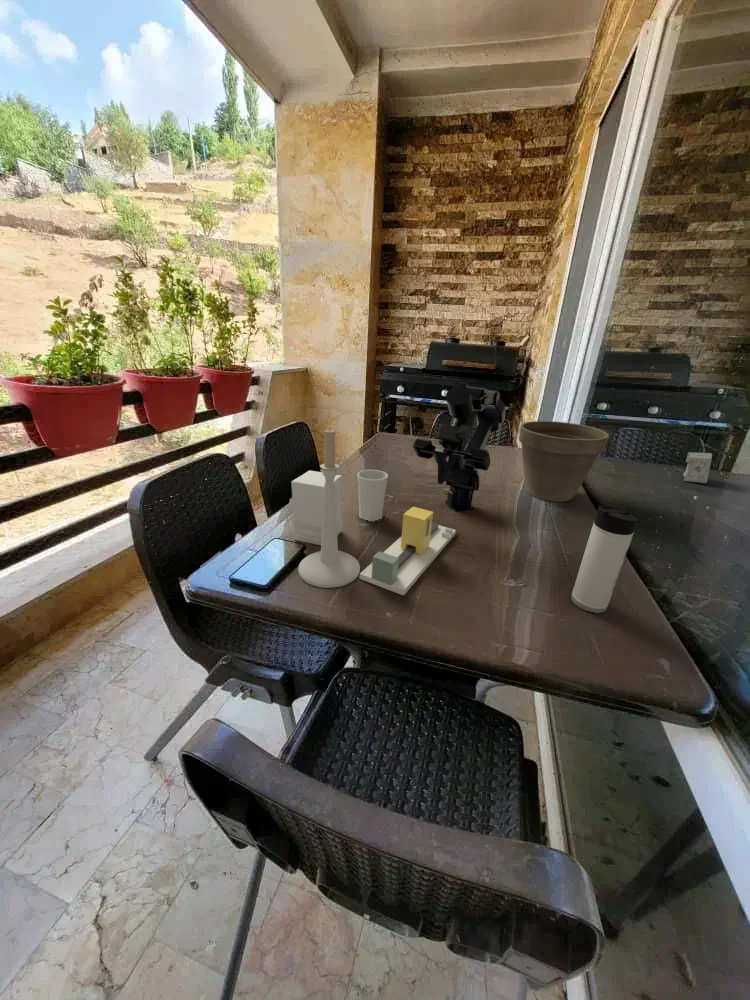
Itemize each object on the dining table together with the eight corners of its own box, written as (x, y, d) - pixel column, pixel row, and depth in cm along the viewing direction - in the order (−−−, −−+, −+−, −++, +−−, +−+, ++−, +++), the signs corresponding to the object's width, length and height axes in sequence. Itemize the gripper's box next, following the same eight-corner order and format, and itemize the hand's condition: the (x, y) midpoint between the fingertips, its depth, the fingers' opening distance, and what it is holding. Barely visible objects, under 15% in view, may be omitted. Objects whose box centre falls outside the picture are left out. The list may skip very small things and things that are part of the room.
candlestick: (335, 595, 74) (336, 441, 62) (285, 573, 80) (277, 428, 68) (371, 565, 84) (378, 428, 72) (324, 547, 90) (324, 417, 78)
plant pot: (505, 499, 122) (518, 431, 113) (511, 475, 143) (522, 416, 134) (593, 515, 114) (615, 443, 105) (585, 488, 135) (603, 426, 126)
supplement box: (342, 531, 97) (344, 474, 91) (327, 547, 90) (327, 487, 84) (310, 524, 100) (309, 469, 94) (292, 539, 92) (290, 480, 86)
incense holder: (679, 474, 155) (689, 449, 151) (705, 479, 150) (716, 454, 146) (677, 480, 148) (688, 454, 143) (705, 486, 143) (716, 459, 139)
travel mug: (562, 593, 78) (589, 502, 70) (593, 592, 78) (623, 502, 70) (580, 614, 72) (611, 517, 64) (613, 613, 73) (648, 517, 65)
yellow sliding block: (409, 538, 92) (412, 506, 89) (429, 545, 90) (433, 512, 87) (400, 547, 88) (403, 514, 85) (420, 554, 86) (424, 520, 83)
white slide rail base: (419, 523, 103) (421, 502, 101) (455, 534, 99) (458, 512, 96) (359, 578, 79) (360, 552, 76) (403, 595, 75) (406, 568, 72)
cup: (382, 524, 102) (384, 481, 97) (352, 520, 103) (354, 477, 98) (387, 511, 109) (390, 471, 104) (359, 508, 110) (361, 468, 106)
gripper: (418, 405, 95) (395, 460, 91) (494, 415, 87) (472, 476, 83) (428, 430, 105) (408, 481, 101) (498, 442, 96) (478, 497, 92)
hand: (439, 483), depth 94 cm, fingers closed
